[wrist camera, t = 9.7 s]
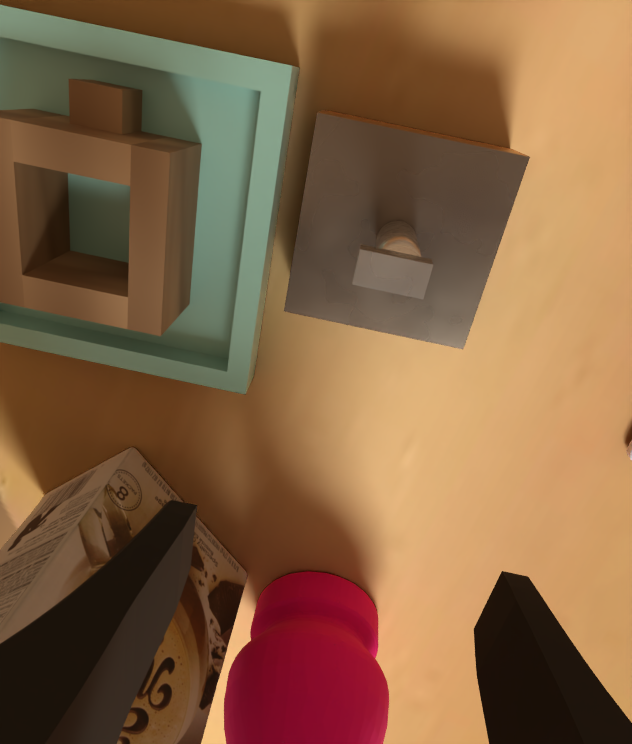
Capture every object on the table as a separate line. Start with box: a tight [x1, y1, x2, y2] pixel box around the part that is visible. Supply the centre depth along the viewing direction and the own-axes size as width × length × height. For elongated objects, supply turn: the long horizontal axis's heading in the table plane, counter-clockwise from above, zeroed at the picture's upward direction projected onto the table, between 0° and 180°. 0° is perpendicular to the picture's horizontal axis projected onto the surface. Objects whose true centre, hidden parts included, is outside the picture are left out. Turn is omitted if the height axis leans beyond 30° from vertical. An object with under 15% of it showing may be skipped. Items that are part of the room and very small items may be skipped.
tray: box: [0, 5, 300, 395], centre depth 19 cm, size 11×11×2 cm
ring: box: [0, 79, 202, 336], centre depth 17 cm, size 6×7×3 cm
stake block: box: [284, 110, 530, 349], centre depth 16 cm, size 6×6×6 cm
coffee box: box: [0, 447, 247, 744], centre depth 20 cm, size 9×6×16 cm
